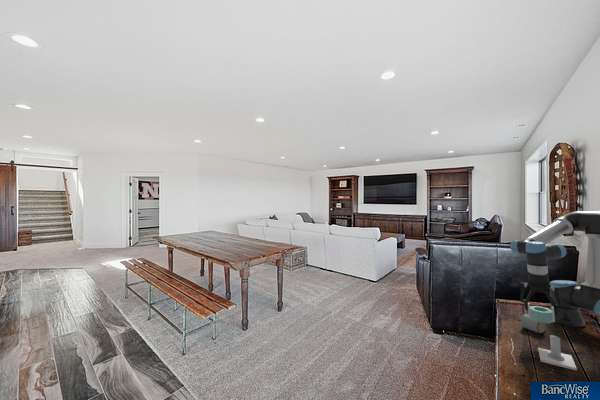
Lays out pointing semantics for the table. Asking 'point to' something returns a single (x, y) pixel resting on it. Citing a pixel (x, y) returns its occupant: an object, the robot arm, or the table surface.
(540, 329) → the ceramic mug
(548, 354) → the plate with round peg
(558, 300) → the robot arm
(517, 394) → the table surface
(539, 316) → the ring
